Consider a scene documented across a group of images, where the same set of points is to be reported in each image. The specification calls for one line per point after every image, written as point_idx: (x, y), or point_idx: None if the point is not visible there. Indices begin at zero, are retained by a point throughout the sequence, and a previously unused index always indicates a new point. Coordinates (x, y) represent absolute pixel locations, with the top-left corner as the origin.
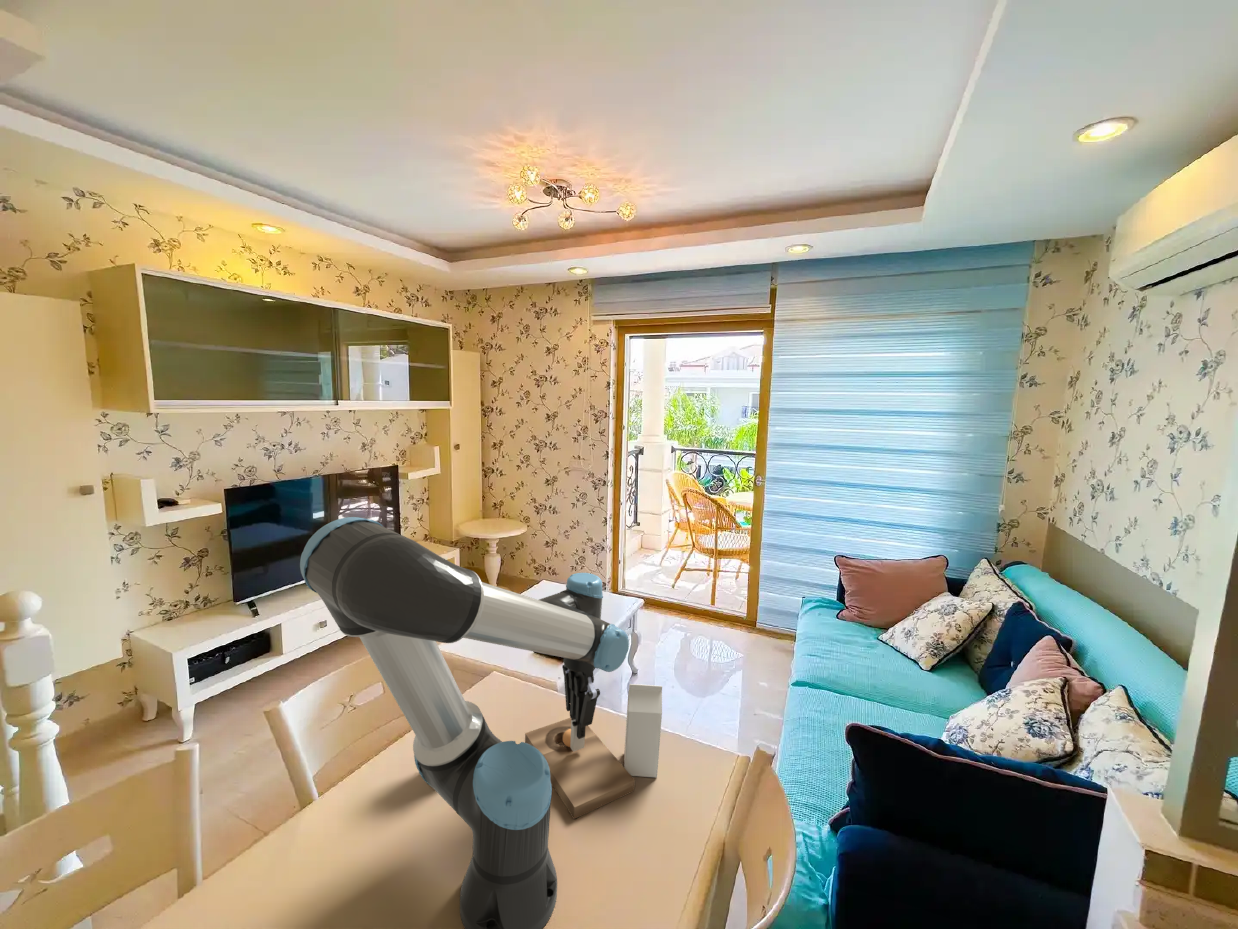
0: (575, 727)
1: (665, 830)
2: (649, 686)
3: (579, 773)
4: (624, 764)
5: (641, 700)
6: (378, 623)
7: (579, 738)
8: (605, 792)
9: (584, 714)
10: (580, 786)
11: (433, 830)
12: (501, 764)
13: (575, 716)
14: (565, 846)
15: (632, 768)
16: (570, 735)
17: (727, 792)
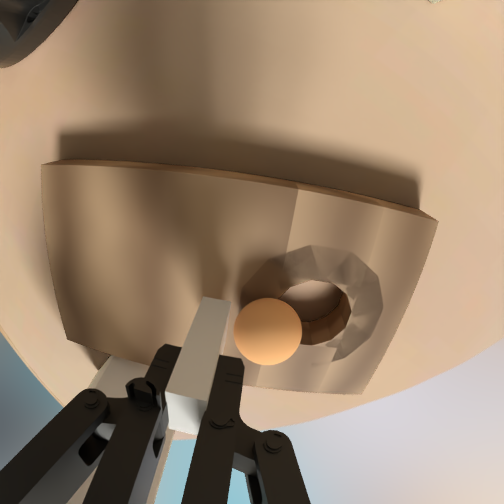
0: (170, 379)
1: (9, 293)
2: None
3: (130, 253)
4: (130, 362)
5: None
6: None
7: (163, 347)
8: (51, 265)
9: (22, 450)
10: (86, 222)
11: None
12: None
13: (153, 432)
14: (30, 109)
15: (107, 362)
16: (250, 337)
17: (54, 397)
